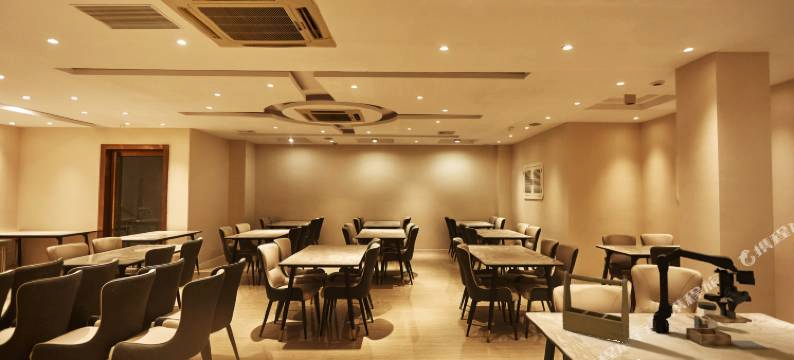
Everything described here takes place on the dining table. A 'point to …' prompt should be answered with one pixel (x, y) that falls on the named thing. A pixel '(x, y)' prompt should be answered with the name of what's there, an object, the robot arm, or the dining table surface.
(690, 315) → the tan wooden bar
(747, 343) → the mat
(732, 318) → the lid
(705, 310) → the jar
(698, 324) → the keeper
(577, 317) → the caddy
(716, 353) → the dining table surface
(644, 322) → the dining table surface
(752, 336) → the dining table surface
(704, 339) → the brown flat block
